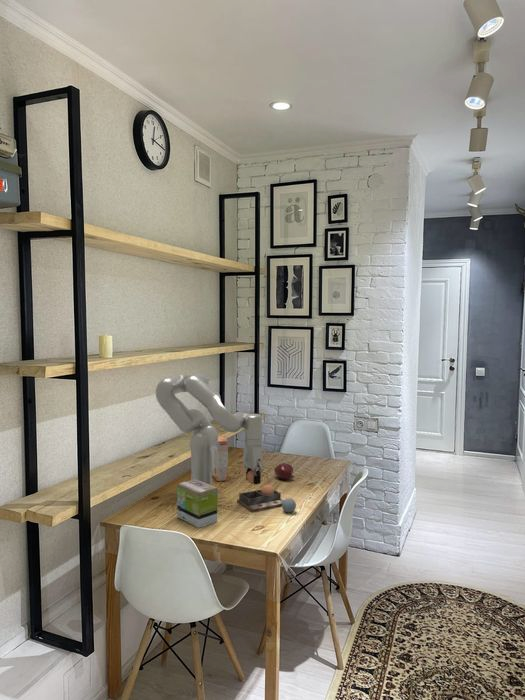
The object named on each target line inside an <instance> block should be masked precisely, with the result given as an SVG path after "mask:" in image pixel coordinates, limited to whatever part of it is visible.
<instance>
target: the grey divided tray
mask: <svg viewBox="0 0 525 700" xmlns="http://www.w3.org/2000/svg"><path fill="white" fill-rule="evenodd" d="M281 494H282V493H281V492H279V491H277V490H276V489H274V494H271V495H266V496H264V495H263V494H261V489H256V490H252V491H246V492H240V493H239V495H238V499H236V503H237V504H238V505H241V507H244V508H245V509H246V510H248V511H249V512H251V513H252V514H253V513H257V512H263V511H266V510H272V509H277V508H282V507H281V506H282V502H283V501H284V500H285V499H282V498H281ZM276 507H277V508H276Z"/></svg>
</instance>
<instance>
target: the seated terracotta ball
mask: <svg viewBox="0 0 525 700" xmlns="http://www.w3.org/2000/svg"><path fill="white" fill-rule="evenodd" d="M260 490H261V494H263V495H264V496H266V495H271V494H274V490H275V489H274V487H273V486H271V485H269V484H266V485H264V486H262V488H261V489H260Z"/></svg>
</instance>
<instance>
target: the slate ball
mask: <svg viewBox="0 0 525 700" xmlns="http://www.w3.org/2000/svg"><path fill="white" fill-rule="evenodd" d="M283 500H284V501H283V502H282V507H281V508H282V510H283V511H284V512H285V513H288V514H289V513H292V512H294V511H295V510H296V507H297V503H296V501H295V500H294V499H293V498H290V497H287V498H285V499H283Z"/></svg>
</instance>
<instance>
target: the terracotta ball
mask: <svg viewBox="0 0 525 700" xmlns="http://www.w3.org/2000/svg"><path fill="white" fill-rule="evenodd" d="M257 471H258V470H256V472H257ZM254 475H255V474H254V469H252V470H251V471H249V472H248V474H247V480H248V483H250V484H253V485H255V484H254ZM247 480H246V481H247Z"/></svg>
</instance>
